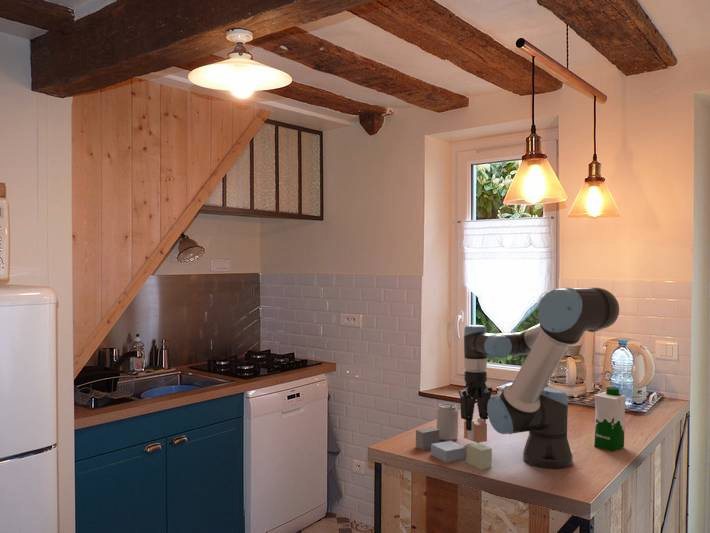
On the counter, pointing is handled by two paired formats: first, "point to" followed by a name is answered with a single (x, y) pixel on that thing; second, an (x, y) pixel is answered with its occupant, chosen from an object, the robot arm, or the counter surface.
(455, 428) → the can
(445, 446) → the slate blue brick
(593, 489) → the counter surface
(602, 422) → the milk carton
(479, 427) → the terracotta brick
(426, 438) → the charcoal brick
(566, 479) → the counter surface
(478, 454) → the sage brick
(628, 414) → the counter surface
